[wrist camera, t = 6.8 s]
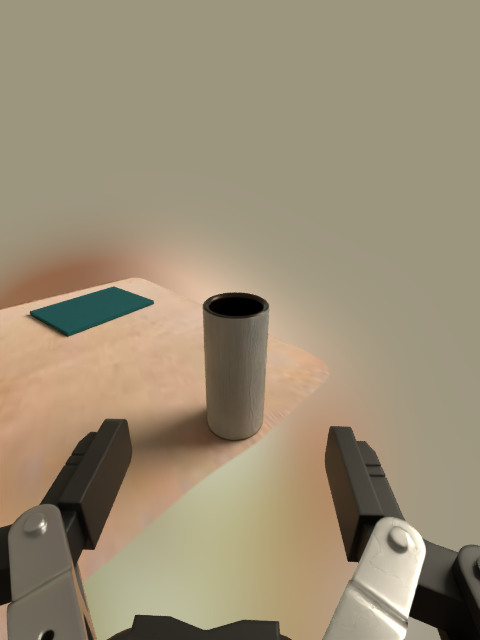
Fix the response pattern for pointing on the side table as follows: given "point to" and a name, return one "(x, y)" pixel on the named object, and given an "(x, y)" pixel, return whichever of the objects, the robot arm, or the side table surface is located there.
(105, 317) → the towel
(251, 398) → the planter
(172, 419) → the side table surface
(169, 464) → the side table surface
